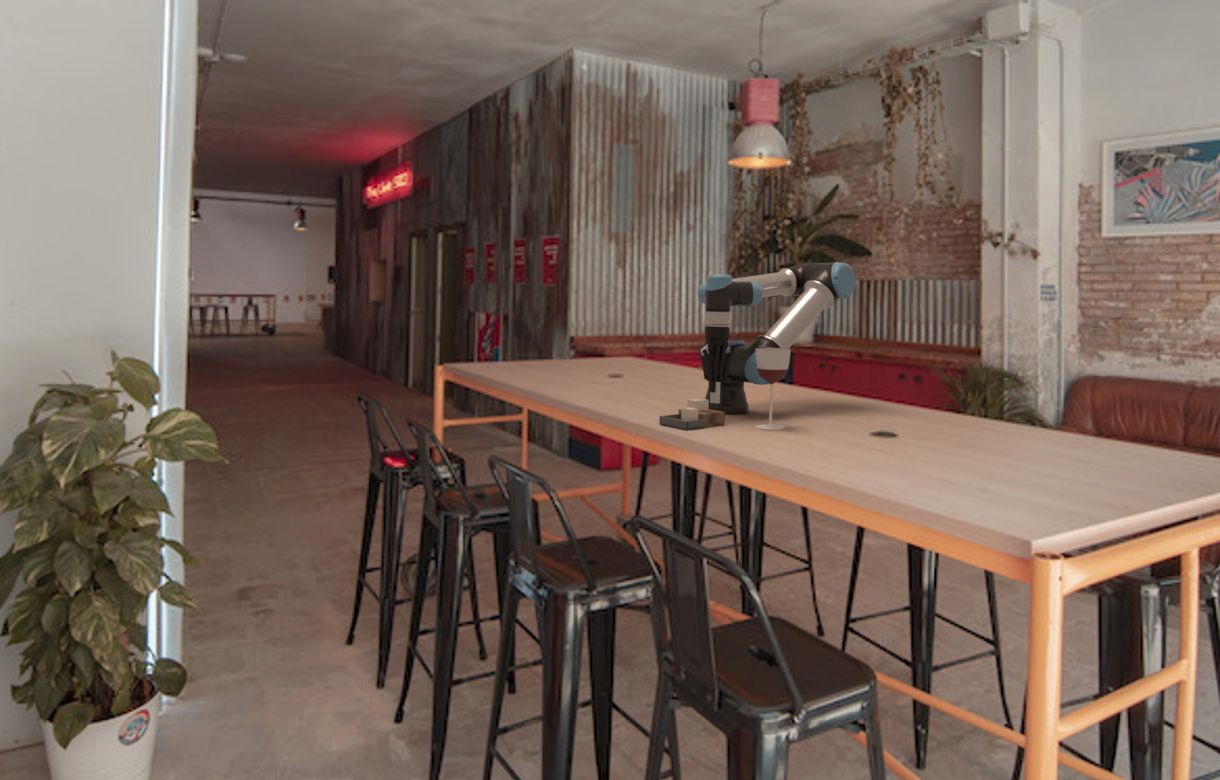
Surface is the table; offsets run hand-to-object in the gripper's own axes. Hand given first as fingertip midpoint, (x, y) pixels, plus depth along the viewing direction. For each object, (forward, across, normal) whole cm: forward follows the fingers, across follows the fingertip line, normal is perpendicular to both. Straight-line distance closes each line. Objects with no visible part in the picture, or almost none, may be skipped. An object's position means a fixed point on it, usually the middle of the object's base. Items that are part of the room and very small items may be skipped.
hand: (714, 402), depth 259 cm
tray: (+6, +16, +2) cm, 17 cm away
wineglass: (+6, -6, +18) cm, 19 cm away
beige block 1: (+2, +7, 0) cm, 7 cm away
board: (+6, +8, +2) cm, 10 cm away
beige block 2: (+3, +13, +5) cm, 14 cm away
